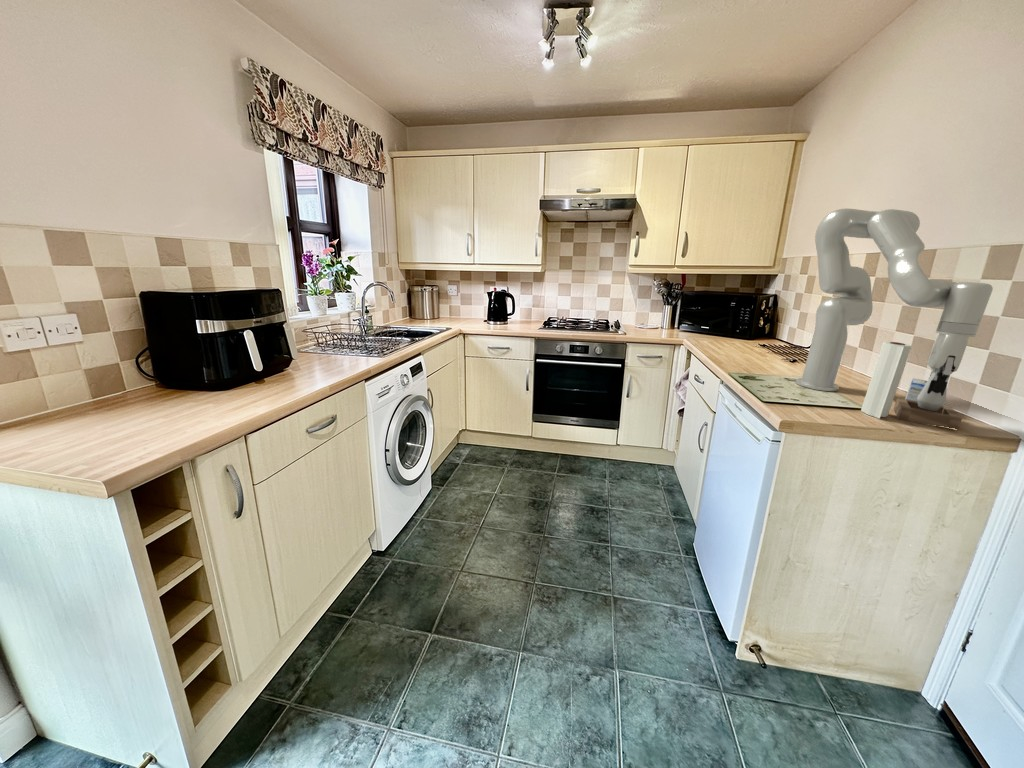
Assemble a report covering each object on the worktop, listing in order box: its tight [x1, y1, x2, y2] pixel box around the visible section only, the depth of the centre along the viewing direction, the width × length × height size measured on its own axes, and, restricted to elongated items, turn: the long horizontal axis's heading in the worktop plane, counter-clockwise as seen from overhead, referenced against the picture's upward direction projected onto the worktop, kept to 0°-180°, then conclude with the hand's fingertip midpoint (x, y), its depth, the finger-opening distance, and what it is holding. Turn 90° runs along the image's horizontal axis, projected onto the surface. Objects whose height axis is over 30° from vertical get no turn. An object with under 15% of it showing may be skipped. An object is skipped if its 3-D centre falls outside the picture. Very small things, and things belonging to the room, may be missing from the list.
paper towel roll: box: [860, 341, 912, 420], centre depth 117 cm, size 7×6×21 cm
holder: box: [893, 397, 963, 430], centre depth 118 cm, size 12×12×4 cm
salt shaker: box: [917, 368, 954, 411], centre depth 115 cm, size 6×6×13 cm
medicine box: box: [904, 378, 928, 401], centre depth 127 cm, size 8×4×9 cm, turn 134°
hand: (933, 392), depth 116 cm, fingers closed on salt shaker, 3 cm apart
